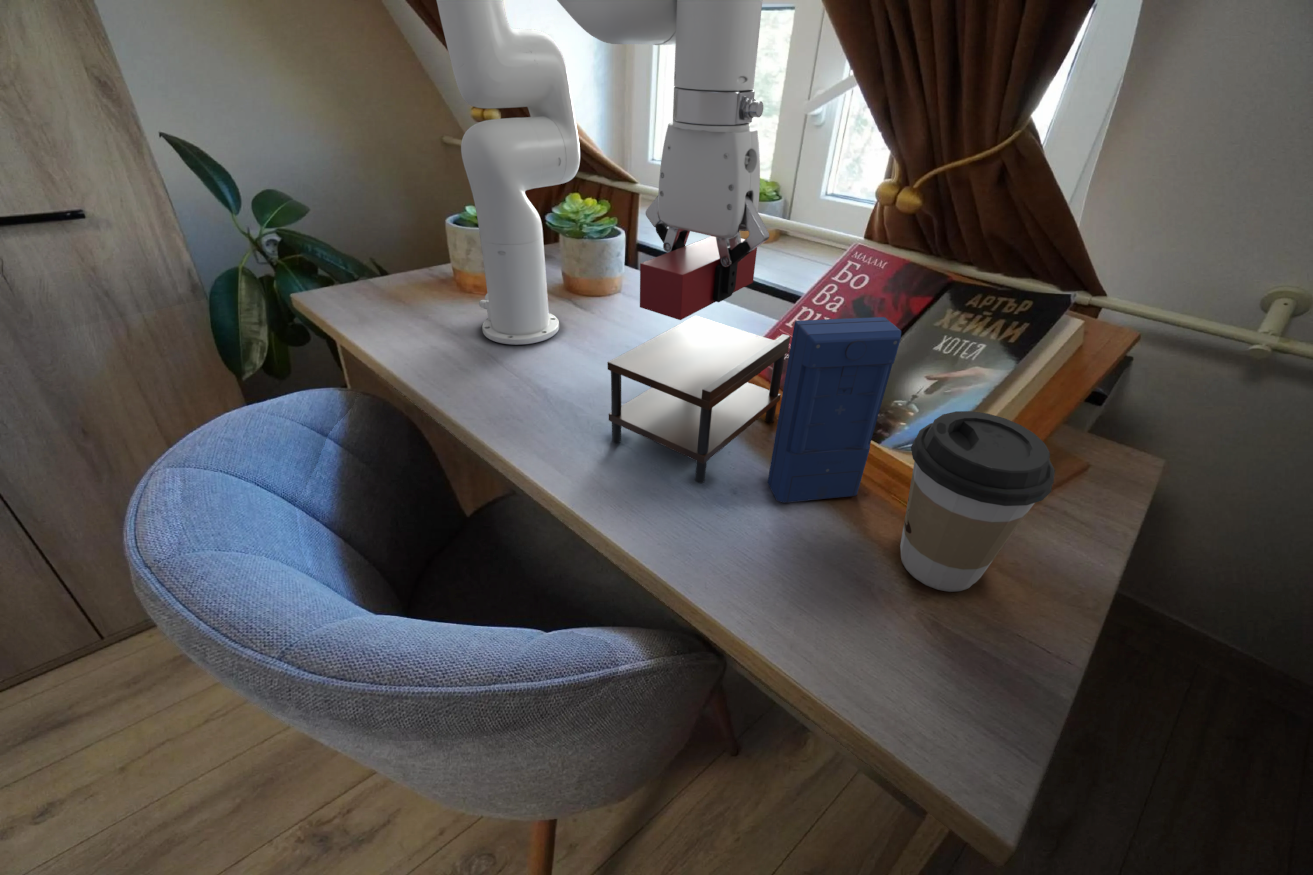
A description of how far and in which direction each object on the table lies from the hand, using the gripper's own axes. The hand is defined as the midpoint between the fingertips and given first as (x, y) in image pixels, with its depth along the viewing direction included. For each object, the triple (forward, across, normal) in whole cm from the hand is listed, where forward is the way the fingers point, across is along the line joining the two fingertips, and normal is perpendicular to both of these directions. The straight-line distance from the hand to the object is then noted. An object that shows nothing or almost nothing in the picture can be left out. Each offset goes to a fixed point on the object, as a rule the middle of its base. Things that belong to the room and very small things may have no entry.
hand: (699, 290), depth 68 cm
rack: (+19, -1, 0) cm, 19 cm away
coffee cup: (+19, -33, +4) cm, 38 cm away
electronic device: (+19, -18, +2) cm, 26 cm away
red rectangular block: (0, 0, 0) cm, 0 cm away
